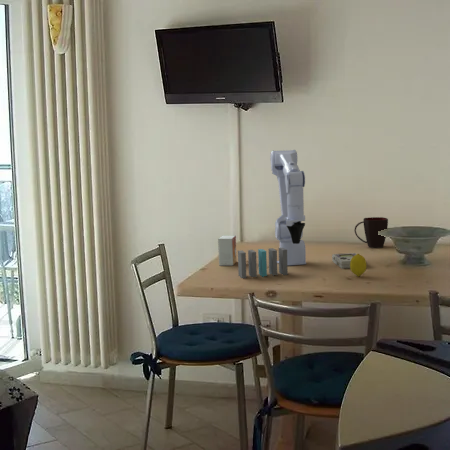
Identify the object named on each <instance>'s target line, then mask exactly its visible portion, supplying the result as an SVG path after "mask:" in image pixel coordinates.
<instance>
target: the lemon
mask: <svg viewBox="0 0 450 450" xmlns="http://www.w3.org/2000/svg"><path fill="white" fill-rule="evenodd" d="M356 254H357V255H355V256H353V257H352V259H351V262H350V268H349V269H350V271H351V273H352V274H353V275H355V276H356V277H361V275H364V273H365V272H366V270H367V261H366V258H365V257H364V256H363V255H362V254H360V253H356Z"/></svg>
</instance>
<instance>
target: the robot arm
mask: <svg viewBox="0 0 450 450" xmlns="http://www.w3.org/2000/svg"><path fill="white" fill-rule="evenodd" d="M270 169H271V170H270V171H271V174H273V175H275V176H276V179H277V183H278V194H279V203H280V212H281V213H280V214H281V215H280V216H279V217H278V218H276V220H275V223H274V225H275V226H274V227H275V228H274V233H275V234H274V235H275V239H276V240H278V241H279V248H282V247H283V248H285V249H287V267H288V266H298V265H299V266H302V265H307V261H306V259H307V257H306V256H307V255H306V243H305V240H303V239H302V238H303V233H304V227H305V225H306V223H305V221H306V215H305V211H304V208H305V207H304V206H305V205H304V204H305V203H304V188H305V185H306V175H305V172H304V170H301V169H300V167H299V165H298V151H296V149H286V150H284V149H283V150H271V152H270ZM300 170H301V171H300ZM277 264H279V260H277Z"/></svg>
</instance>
